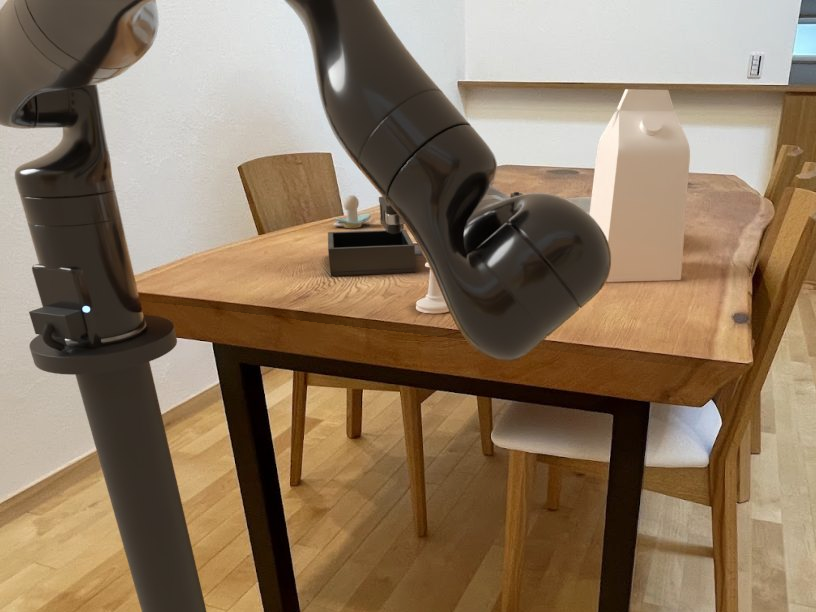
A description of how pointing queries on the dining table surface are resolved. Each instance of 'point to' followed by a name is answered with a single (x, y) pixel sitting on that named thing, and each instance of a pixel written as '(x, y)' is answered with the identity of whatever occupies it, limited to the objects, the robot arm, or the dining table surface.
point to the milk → (642, 188)
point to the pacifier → (352, 214)
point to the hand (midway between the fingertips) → (444, 200)
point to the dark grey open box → (370, 253)
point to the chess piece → (432, 298)
